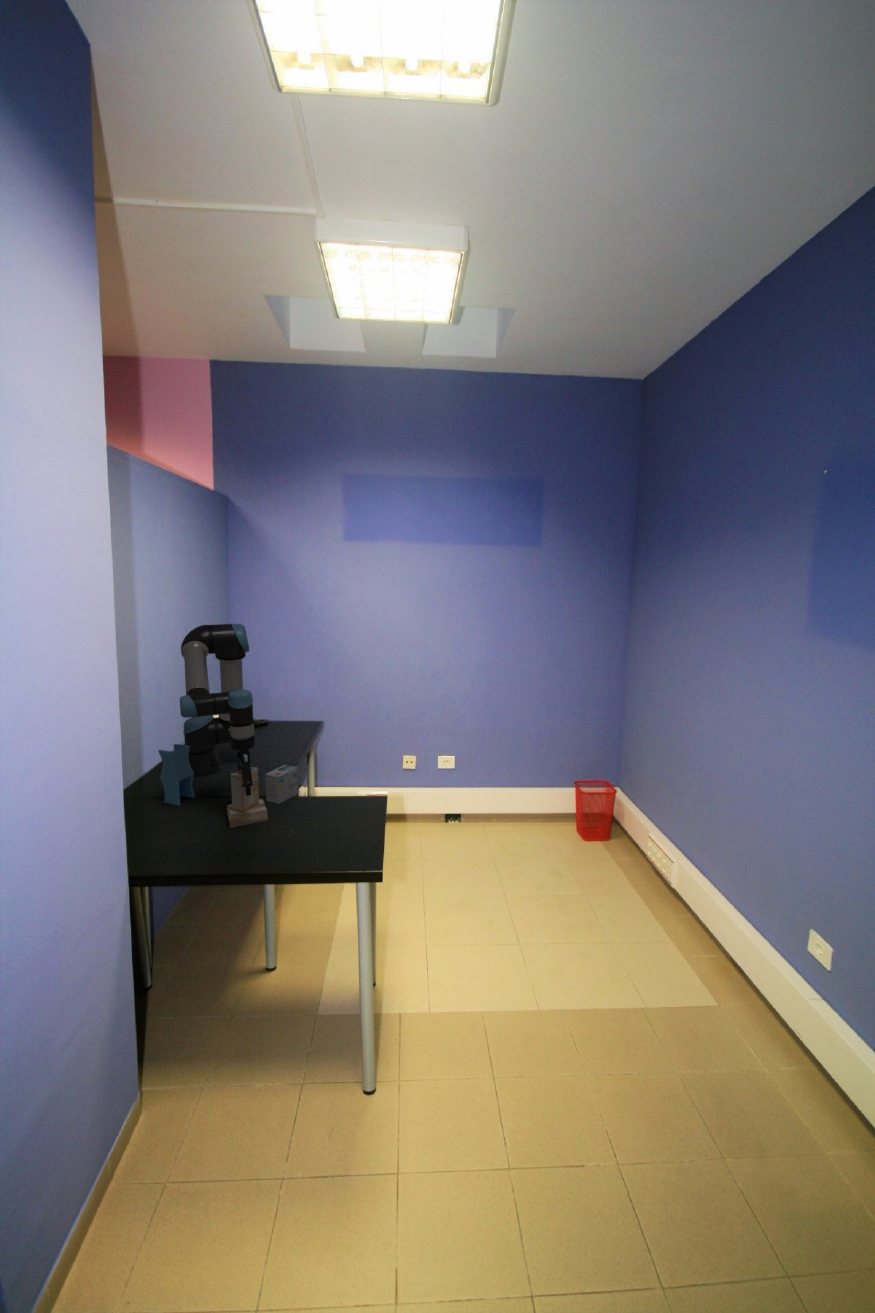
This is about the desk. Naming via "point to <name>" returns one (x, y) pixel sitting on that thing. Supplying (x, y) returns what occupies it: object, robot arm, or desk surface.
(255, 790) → the supplement box
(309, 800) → the desk surface
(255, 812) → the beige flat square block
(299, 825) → the desk surface
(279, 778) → the light bulb box
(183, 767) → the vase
